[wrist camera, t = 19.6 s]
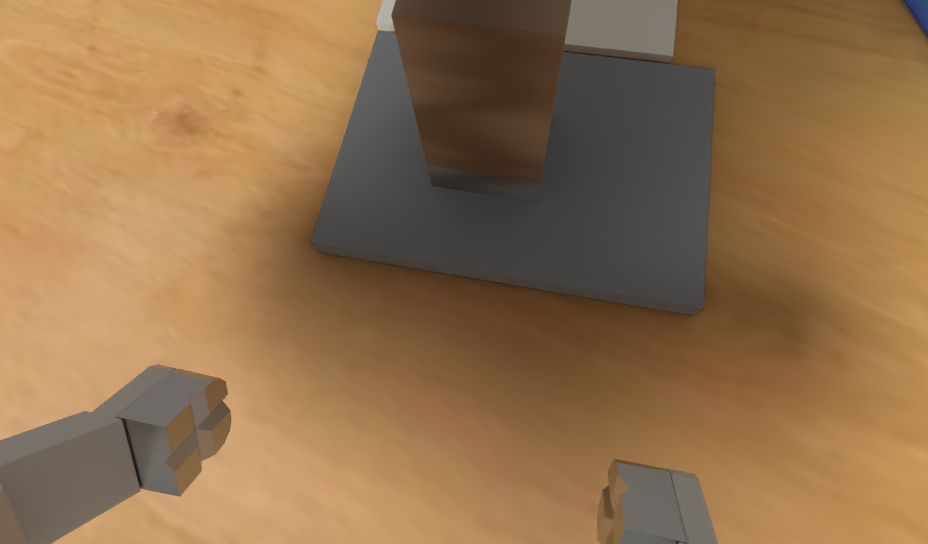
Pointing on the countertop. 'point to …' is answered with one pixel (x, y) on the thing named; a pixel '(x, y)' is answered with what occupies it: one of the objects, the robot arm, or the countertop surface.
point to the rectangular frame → (607, 27)
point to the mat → (542, 188)
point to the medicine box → (918, 12)
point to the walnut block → (483, 88)
